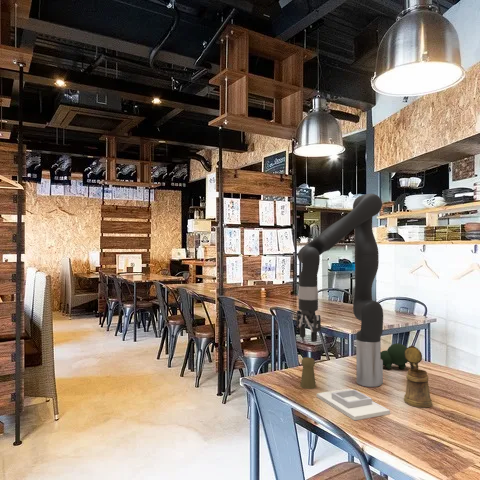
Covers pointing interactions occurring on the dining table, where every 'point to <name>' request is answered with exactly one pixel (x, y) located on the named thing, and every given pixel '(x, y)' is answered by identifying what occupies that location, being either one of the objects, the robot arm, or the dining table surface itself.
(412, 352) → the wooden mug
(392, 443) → the dining table surface
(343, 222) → the robot arm
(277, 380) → the dining table surface
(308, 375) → the olive tall rounded piece
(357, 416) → the board
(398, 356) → the toy figurine
